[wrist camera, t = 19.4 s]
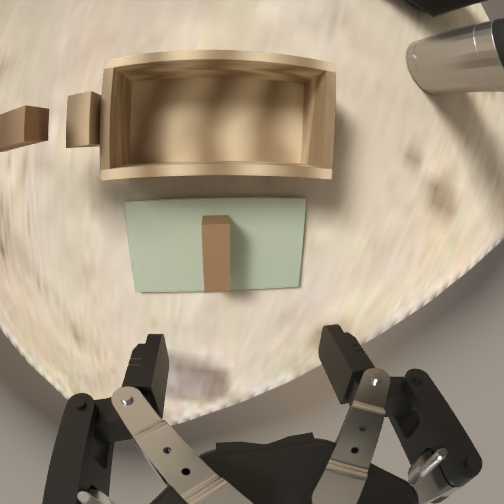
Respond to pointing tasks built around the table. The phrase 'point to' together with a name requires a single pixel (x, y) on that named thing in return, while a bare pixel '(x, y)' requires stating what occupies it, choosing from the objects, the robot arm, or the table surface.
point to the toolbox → (209, 115)
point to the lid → (215, 243)
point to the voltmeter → (442, 5)
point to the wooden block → (23, 127)
